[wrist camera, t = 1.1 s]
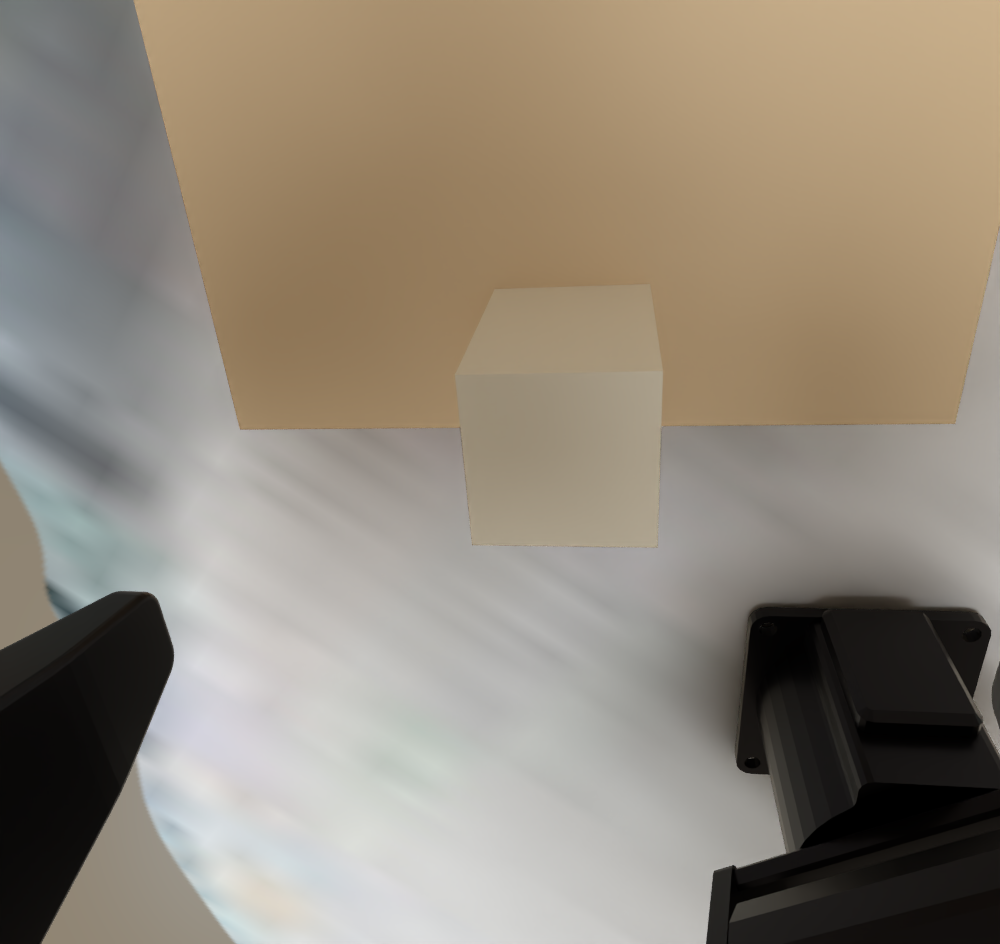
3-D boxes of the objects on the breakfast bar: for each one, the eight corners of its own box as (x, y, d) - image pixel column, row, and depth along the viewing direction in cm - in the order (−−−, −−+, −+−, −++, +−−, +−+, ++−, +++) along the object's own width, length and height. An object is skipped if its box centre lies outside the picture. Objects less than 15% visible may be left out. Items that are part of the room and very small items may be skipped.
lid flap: (944, 411, 16) (1067, 552, 12) (250, 417, 18) (135, 540, 14) (1122, -415, 11) (1492, -741, 6) (87, -267, 13) (-197, -427, 8)
